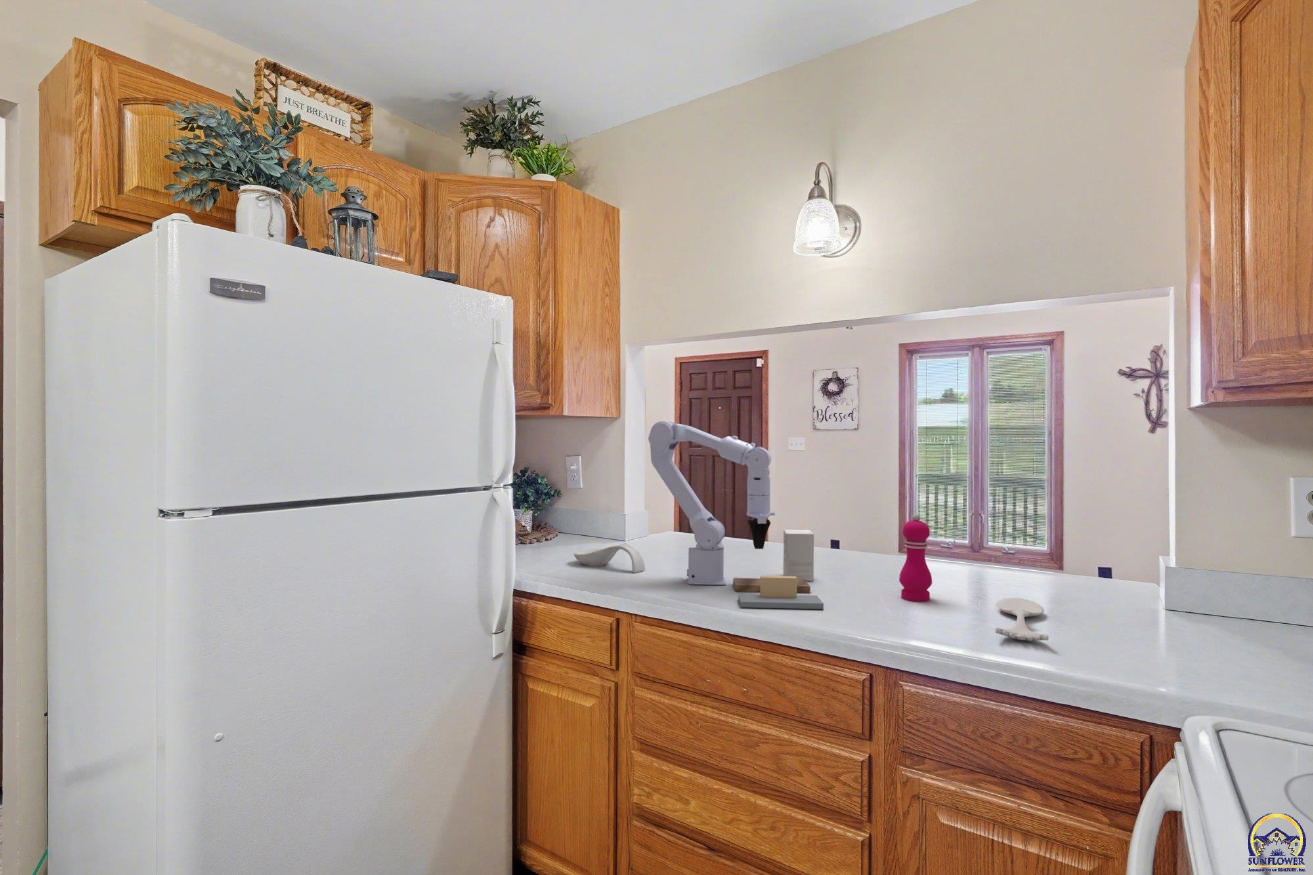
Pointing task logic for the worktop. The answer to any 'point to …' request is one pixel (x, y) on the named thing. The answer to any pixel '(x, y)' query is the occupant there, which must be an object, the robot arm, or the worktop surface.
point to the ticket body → (754, 585)
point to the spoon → (1020, 618)
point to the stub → (779, 595)
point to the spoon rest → (610, 556)
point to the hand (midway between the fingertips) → (758, 548)
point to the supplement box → (799, 554)
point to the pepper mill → (915, 562)
